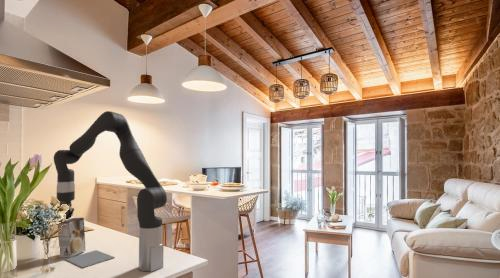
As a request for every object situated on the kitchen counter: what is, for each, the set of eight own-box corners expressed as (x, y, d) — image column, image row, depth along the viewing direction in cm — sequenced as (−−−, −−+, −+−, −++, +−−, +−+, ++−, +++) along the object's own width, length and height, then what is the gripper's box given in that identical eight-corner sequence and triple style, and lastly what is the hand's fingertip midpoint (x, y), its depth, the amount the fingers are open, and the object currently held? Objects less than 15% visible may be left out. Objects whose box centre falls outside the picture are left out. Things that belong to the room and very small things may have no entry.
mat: (114, 258, 134) (114, 257, 134) (82, 268, 122) (82, 267, 122) (96, 250, 143) (96, 250, 143) (65, 259, 132) (65, 259, 132)
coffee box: (74, 250, 143) (73, 217, 144) (85, 250, 142) (84, 217, 143) (58, 257, 134) (57, 222, 135) (70, 257, 133) (69, 221, 134)
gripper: (80, 191, 143) (79, 227, 142) (67, 188, 151) (67, 223, 150) (63, 192, 137) (62, 230, 136) (51, 190, 144) (50, 226, 144)
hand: (65, 226), depth 143 cm, fingers closed
